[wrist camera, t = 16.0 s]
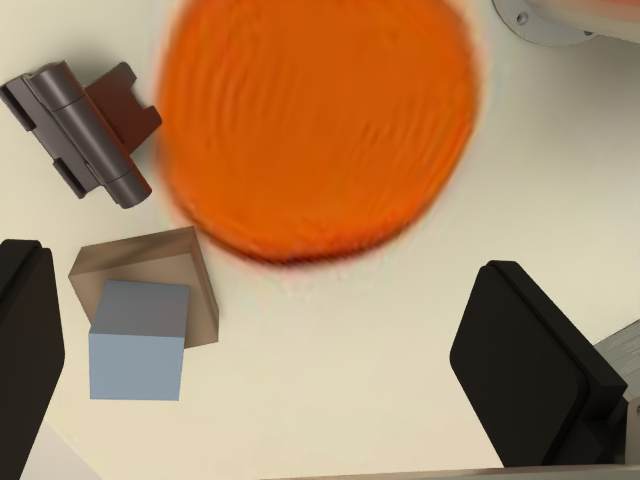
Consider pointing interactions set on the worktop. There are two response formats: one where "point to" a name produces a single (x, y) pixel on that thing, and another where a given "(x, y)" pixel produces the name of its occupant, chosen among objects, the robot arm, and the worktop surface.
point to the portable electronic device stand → (86, 127)
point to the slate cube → (138, 341)
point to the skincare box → (624, 357)
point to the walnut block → (151, 275)
